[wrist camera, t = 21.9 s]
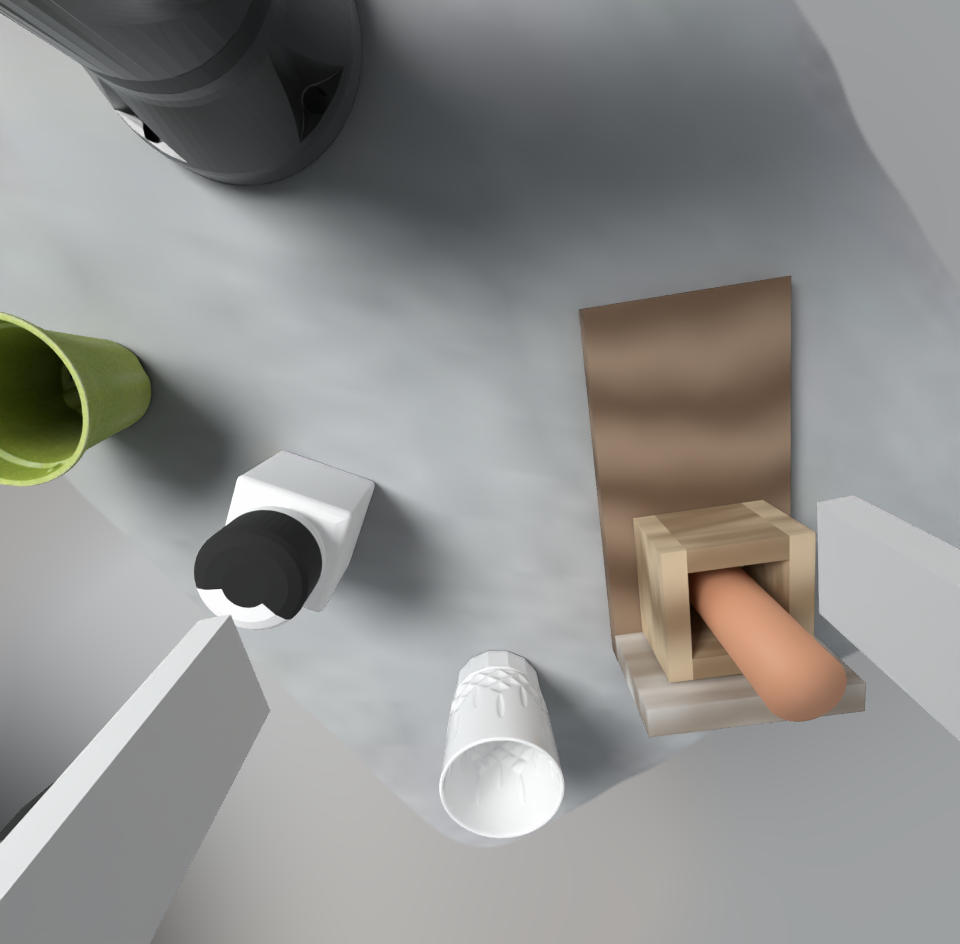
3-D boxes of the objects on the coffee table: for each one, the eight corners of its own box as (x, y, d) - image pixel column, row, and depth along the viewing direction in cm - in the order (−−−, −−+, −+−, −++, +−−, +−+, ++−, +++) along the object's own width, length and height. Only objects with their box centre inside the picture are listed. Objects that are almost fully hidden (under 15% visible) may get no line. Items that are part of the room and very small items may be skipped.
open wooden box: (633, 518, 37) (660, 553, 31) (762, 499, 37) (815, 532, 31) (642, 630, 39) (669, 682, 34) (764, 614, 39) (813, 664, 33)
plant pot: (190, 342, 36) (100, 347, 27) (164, 468, 38) (74, 509, 30) (50, 292, 35) (-87, 282, 26) (32, 425, 37) (-99, 454, 29)
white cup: (547, 642, 42) (567, 737, 32) (545, 725, 44) (562, 838, 34) (447, 643, 42) (437, 738, 32) (450, 726, 44) (441, 839, 34)
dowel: (673, 595, 39) (765, 727, 26) (668, 546, 38) (760, 660, 25) (728, 585, 38) (847, 713, 26) (724, 535, 37) (846, 645, 25)
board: (578, 309, 35) (613, 303, 26) (778, 277, 34) (885, 259, 25) (612, 649, 42) (649, 739, 33) (779, 627, 41) (864, 713, 32)
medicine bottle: (281, 447, 38) (191, 501, 26) (376, 481, 38) (331, 548, 27) (257, 535, 39) (163, 622, 28) (349, 565, 40) (294, 663, 28)
